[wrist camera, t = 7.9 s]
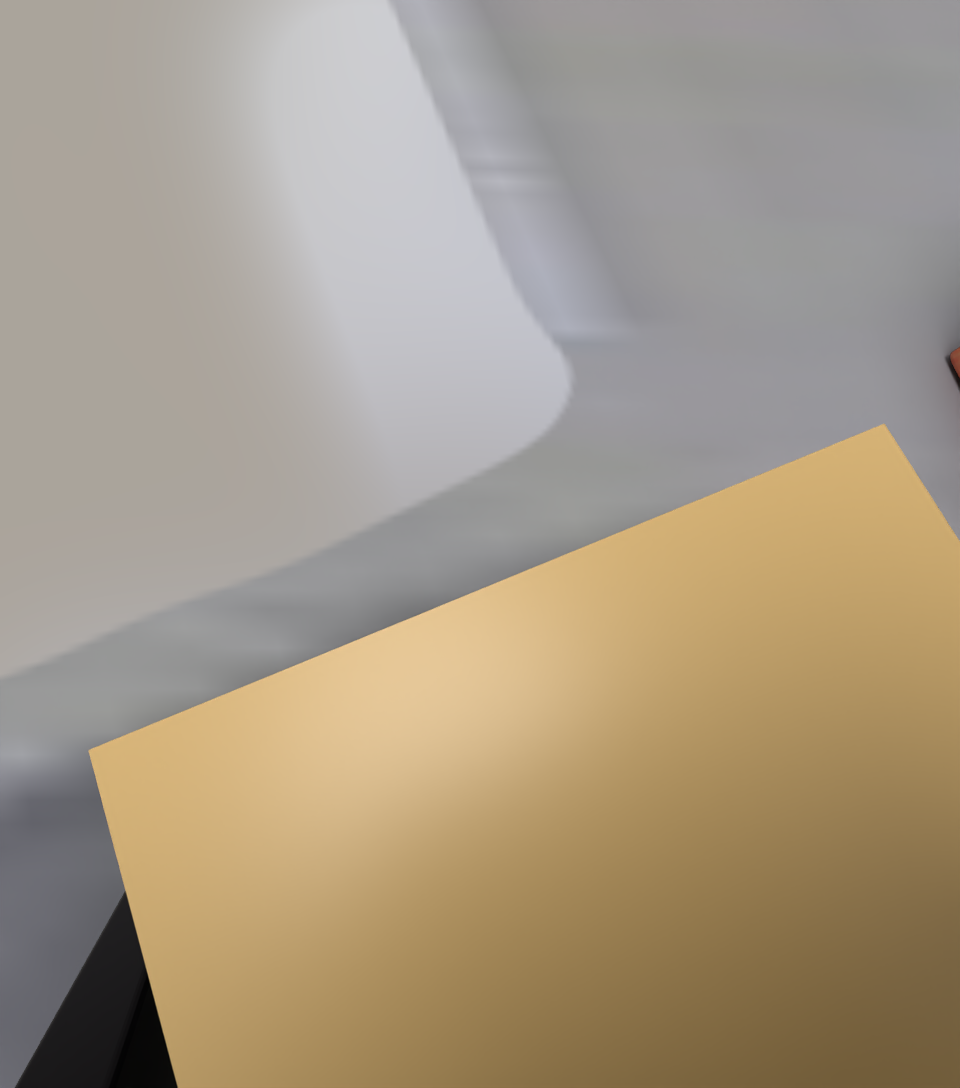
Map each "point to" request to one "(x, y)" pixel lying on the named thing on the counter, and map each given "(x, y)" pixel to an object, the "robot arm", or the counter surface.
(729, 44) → the counter surface
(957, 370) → the cracker box
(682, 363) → the counter surface
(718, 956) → the chute block
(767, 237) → the counter surface
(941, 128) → the counter surface
